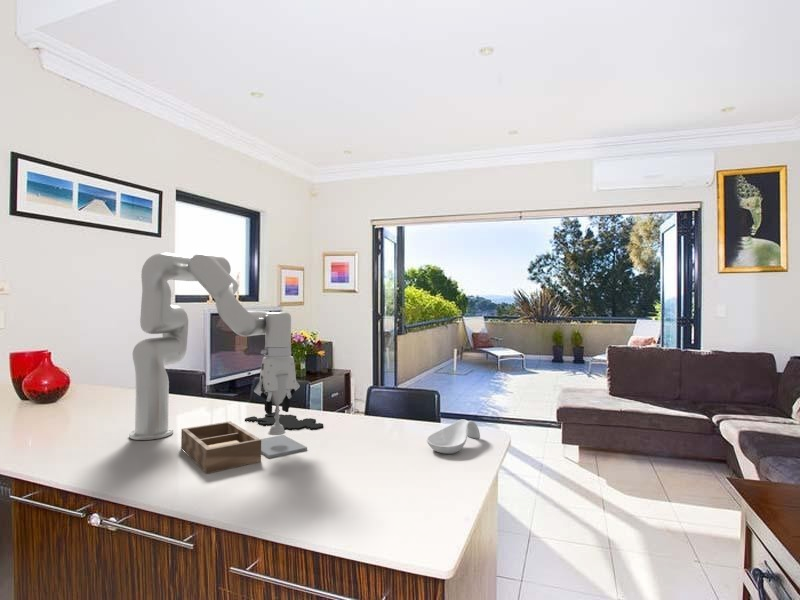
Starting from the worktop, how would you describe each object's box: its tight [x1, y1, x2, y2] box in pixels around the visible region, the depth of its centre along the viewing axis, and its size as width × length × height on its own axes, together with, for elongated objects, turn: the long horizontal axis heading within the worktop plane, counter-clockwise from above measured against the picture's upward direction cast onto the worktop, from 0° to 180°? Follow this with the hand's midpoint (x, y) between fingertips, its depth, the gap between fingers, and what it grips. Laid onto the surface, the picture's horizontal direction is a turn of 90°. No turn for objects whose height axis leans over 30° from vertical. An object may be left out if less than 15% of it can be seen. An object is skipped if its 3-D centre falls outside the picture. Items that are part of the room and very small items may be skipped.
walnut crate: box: [180, 420, 262, 474], centre depth 131 cm, size 24×14×6 cm, turn 40°
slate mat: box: [260, 434, 308, 459], centre depth 139 cm, size 16×12×1 cm
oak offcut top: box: [207, 440, 240, 448], centre depth 127 cm, size 8×9×2 cm
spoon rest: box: [426, 419, 481, 455], centre depth 142 cm, size 24×12×7 cm, turn 144°
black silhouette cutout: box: [244, 411, 324, 431], centre depth 167 cm, size 16×1×30 cm
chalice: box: [267, 374, 289, 436], centre depth 139 cm, size 7×7×18 cm
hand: (277, 411), depth 139 cm, fingers closed on chalice, 4 cm apart
